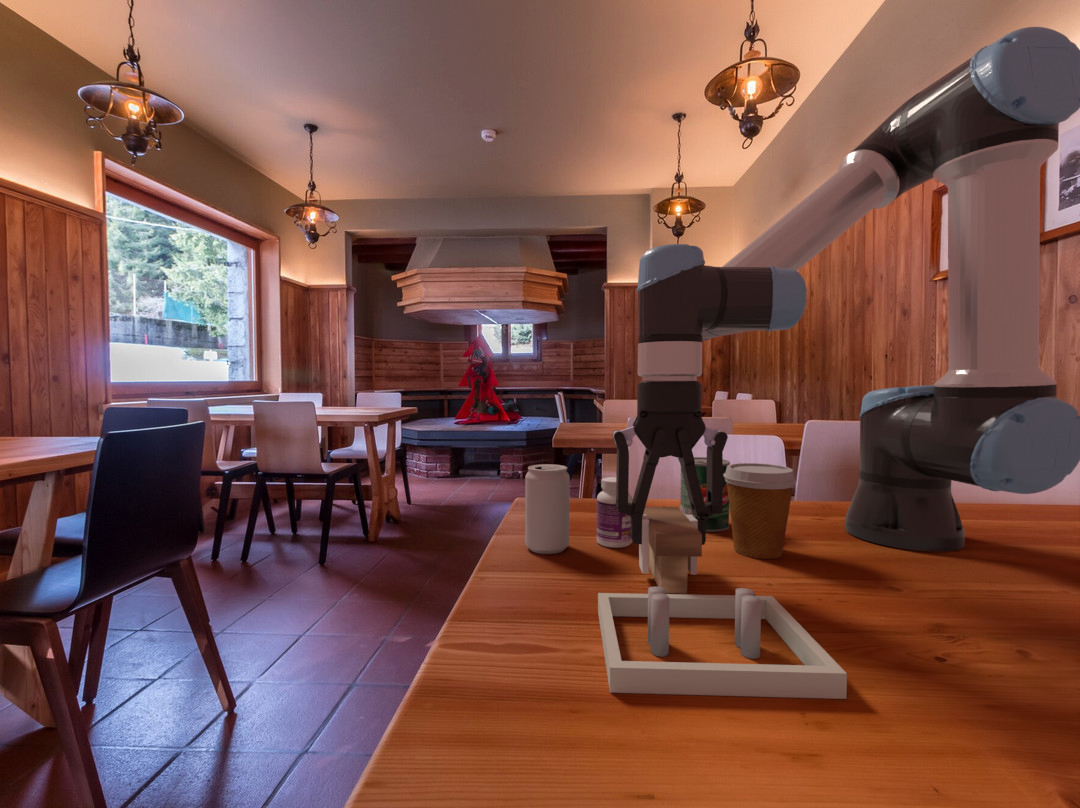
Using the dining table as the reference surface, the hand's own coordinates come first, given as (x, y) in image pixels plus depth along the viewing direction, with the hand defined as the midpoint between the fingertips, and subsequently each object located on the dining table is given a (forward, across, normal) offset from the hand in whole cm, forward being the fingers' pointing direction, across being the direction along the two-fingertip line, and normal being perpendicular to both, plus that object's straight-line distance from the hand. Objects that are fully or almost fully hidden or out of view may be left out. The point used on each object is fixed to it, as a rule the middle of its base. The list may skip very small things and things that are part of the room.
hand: (667, 569), depth 62 cm
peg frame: (+1, 0, +16) cm, 16 cm away
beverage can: (+1, +15, -11) cm, 19 cm away
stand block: (+1, 0, 0) cm, 1 cm away
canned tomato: (+2, -11, -24) cm, 26 cm away
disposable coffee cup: (+2, -15, -11) cm, 19 cm away
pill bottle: (+1, +5, -14) cm, 15 cm away
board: (-4, 0, 0) cm, 4 cm away
